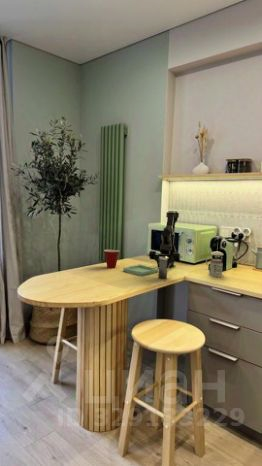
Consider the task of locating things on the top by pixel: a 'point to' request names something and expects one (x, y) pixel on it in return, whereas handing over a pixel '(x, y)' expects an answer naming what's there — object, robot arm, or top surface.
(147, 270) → the tray
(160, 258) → the cylinder
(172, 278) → the top surface
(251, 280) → the top surface
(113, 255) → the plastic cup
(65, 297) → the top surface
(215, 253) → the french press
